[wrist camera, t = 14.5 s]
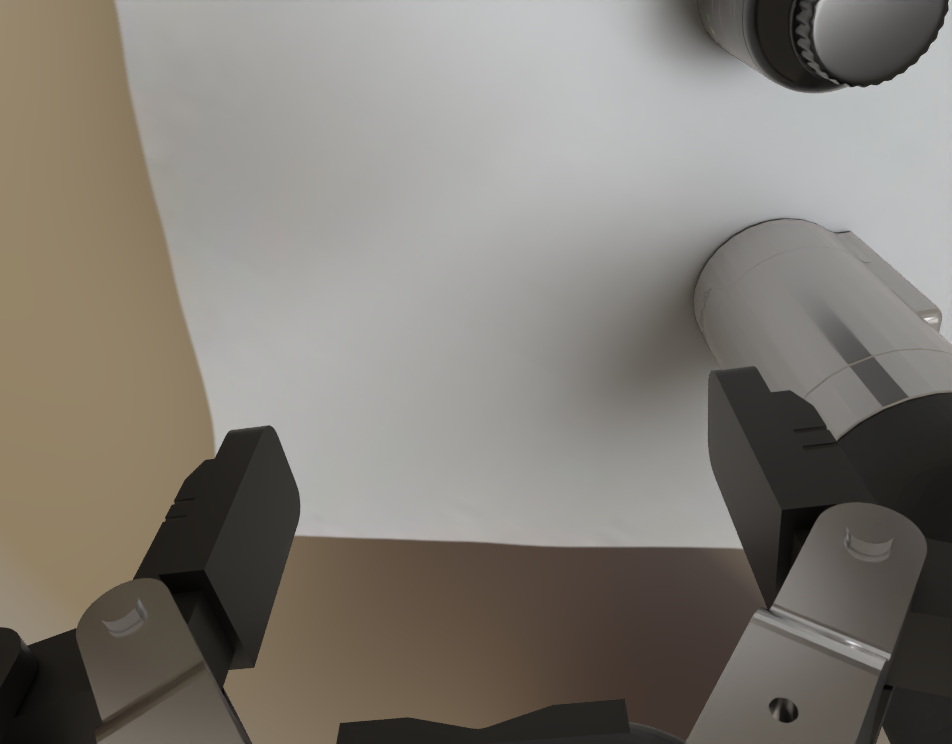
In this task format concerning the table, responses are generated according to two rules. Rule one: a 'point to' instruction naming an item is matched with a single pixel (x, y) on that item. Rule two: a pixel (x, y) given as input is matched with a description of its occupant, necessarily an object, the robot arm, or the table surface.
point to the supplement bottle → (825, 38)
